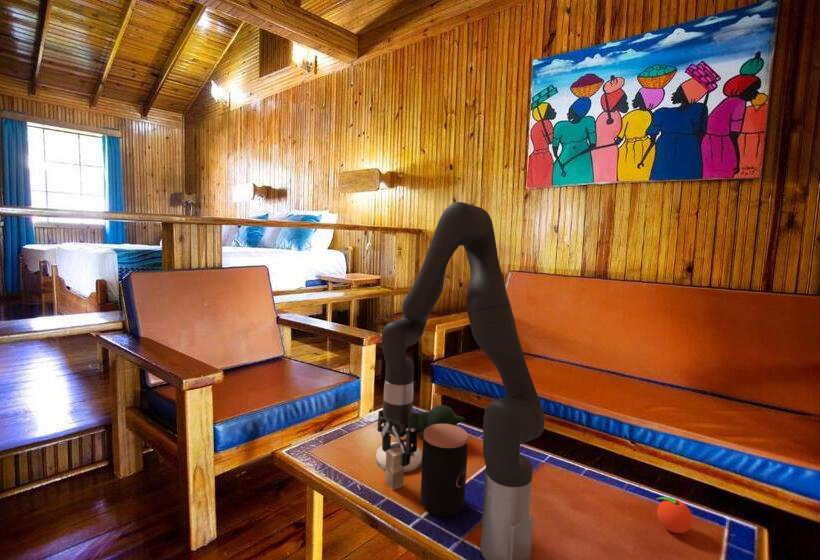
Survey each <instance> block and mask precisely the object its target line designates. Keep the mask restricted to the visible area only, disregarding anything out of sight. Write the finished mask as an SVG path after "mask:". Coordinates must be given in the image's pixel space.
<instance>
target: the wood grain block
mask: <svg viewBox="0 0 820 560" xmlns="http://www.w3.org/2000/svg"><path fill="white" fill-rule="evenodd" d="M401 452H402V450H400V449H399V448H398V447H395V448H393V449H390V450H387V451H386V470H385V473H384V475H385V476H384V484H385V485H386V486H387V487H388V488H389V489H391V491H394V490H397V489H399V488H401V487H404V478H405V477H404V476H405V472H404V467H403V466H402V465H401Z"/></svg>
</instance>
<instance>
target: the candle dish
mask: <svg viewBox="0 0 820 560" xmlns="http://www.w3.org/2000/svg"><path fill="white" fill-rule="evenodd" d="M412 445H413V444H411V446H412ZM404 446H405V447H406V442H404ZM395 447H398V448H399V449H400V450H401V447H400V444H398V443H397V441H396V442H395V441H394V442H391V447H390V449H393V448H395ZM375 453H376V455H375V457H376V458H375V463H376V464H377V465H378V467H379V468H381V469H383V470H386V451H383V450H382V445H380V446H379V447H378V448H377V450H376V451H375ZM422 454H423V451H422V450H421V449H420V448H419V447H418V446H417V451H416V452H413V453H411V454H410V464H409V465H407V466H404V473H409V472H412V471H414V470H416V469H418V468H419V467H420V466H422Z"/></svg>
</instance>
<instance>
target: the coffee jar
mask: <svg viewBox="0 0 820 560" xmlns="http://www.w3.org/2000/svg"><path fill="white" fill-rule="evenodd" d="M468 441H469V434H468V432H467V431H466V430H465V429H463V427H460V426H455V425H451V424H434V425H430V426H428V427H427V428H426V429H425V430H424V438H423V440H422V462H421V481H420V498H419V501H420V503H421V505H422V507H424V510H425V511H426V512H428V513H429V514H431V515H433V516H436V517H439V518H440V517H443V518H447V517H453V516H455V515H457V514H458V513H460V512H461V510H462V509H463V507H464V505H465V500H466V482H467V467H468V466H467V465H468V452H469V451H468V450H469V449H468V448H469V447H468Z"/></svg>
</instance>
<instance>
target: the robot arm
mask: <svg viewBox="0 0 820 560" xmlns="http://www.w3.org/2000/svg"><path fill="white" fill-rule="evenodd" d="M494 229H495V228H494V224H493V221H492V217H491V215H490V213H488V211H487V210H485V209H484V208H482V207H480V206H477V205H473V204H471V203H466V202H463V201H455V202H453V203H451V204H449V205H447V207H446V208H445V209H444V210H443V211H442V213H441V216H440V218H439V220H438V221H437V224H436V228H435V229H434V233H433V236H432V239H431V240H430V241H431V242H430V244H429V246H428V249H427V253H426V255H425V258H424V260H423V263H422V265H421V267H420V270H419V272H418V275H417V276H416V279H415V280H414V282H413V284H412V285H411V287H410V289H409V290H408V293H407V294H406V296H405V298H404V300H403V302H402V304H401V305H402V306H401V308H402V312H403V315H402V316H401V318H400V319H397V320H395V321H394V320H393V321H391V322H388V323H387V324H386V325H385V326H384V327H383V329H382V333H381V335H380V337H381V339H380V340H381V348H382V352H383V358H384V361H385V373H384V374H385V378H384V386H383V399H382V401H383V402H382V409H381V410H378V414H377V415H378V417H377V429H376V430H377V432H378V433H380V436H381V437H382V438H381V440H382V441H381V446H382V450H383V451H387V450H390V447H391V443H392V442H391V441H392V436H393V437H394V438H395V439H396V442H397V443H398V444H400V447H401V450H402V452H401V465H402V466H403V467H404V466H407V465H409V464H410V454H411V453H413V452H416V451H417V447H418V433H417V429H416V428H410V427H409V419H410V417H411V416H412V412H413V407H414V406H413V405H414V385H413V380H414V370H415V369H414V367H415V366H414V360H413V358H411V357H409V356H408V355H407V348H408V347H411V346H414V345H415V344H416V343H417V342H418V341H419V340H420V338H421V337H422V335H423V333H424V330H425V328H426V325H427V322H428V318H429V316H430V314H431V313H432V312H433V310H434V308H435V307H436V305H437V303H438V301H439V299H440V298H441V295H442V293H443V291H444V287H445V279H446V278H445V277H446V272H447V267H448V263H449V262H450V260H451V258H452V256H453V255H454V254H455V252H456V250H457V249H458V248H459V247H460V246H462V247H463V248H464V251H465V253H466V257H467V261H468V264H469V272H470V277H469V283H468V289H467V296H466V312H467V317H468V321H469V324H470V325H469V326H470V329H471V333H472V336H473V338H474V340H475V342H476V344H477V345H478V347H479V348H480V349H481V351H483V353H484V354H485V355H486V357H487V358H488V359H489V360H490V361H491V362H492V364H493V365H494V367H495V368H496V370H497V371H498V374H499V376H500V379H501V382H502V384H503V385H502V386H503V389H504V393H505V397H502V398H498V399H495V400H492V401H491V402H489V403H488V404H487V406H486V408H485V411H484V414H483V423H482V424H483V425H482V432H483V433H482V454H483V459H484V460H483V461H484V463H485V474H484V488H483V500H482V501H483V502H482V503H483V505H482V518H481V535H480V552H481V555H482V557H483V558H484V559H485V560H531V550H532V541H533V539H532V538H533V527H534V516H533V515H532V514H531V513H530V506H531V498H532V497H531V495H532V482H533V474H534V473H533V472H534V470H533V468H534V467H533V464H532V462H531V461H530V459H529V458H528V457H526V456H525V455H522V454H521V453H520V451H521V450H520V449H521V445H523V444H526V443H528V442H531V441H533V440H535V439H537V438H539V437H540V436H541V435H542V434H543V432H544V430H545V426H546V425H545V421H546V420H545V413H544V409H543V407H542V403H541V400H540V398H539V394H538V392H537V389H536V387H535V384H534V382H533V379H532V376H531V374H530V371H529V368H528V364H527V362H526V361H527V360H526V359H525V355H524V351H523V349H522V344H521V341H520V337H519V332H518V330H517V325H516V320H515V316H514V313H513V309H512V306H511V302H510V299H509V296H508V292H507V288H506V284H505V280H504V275H503V272H502V269H501V264H500V261H499V254H498V248H497V241H496V236H495V230H494ZM404 437H405V438H404ZM404 443H406V447H405V446H404ZM411 444H412V446H411Z"/></svg>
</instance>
